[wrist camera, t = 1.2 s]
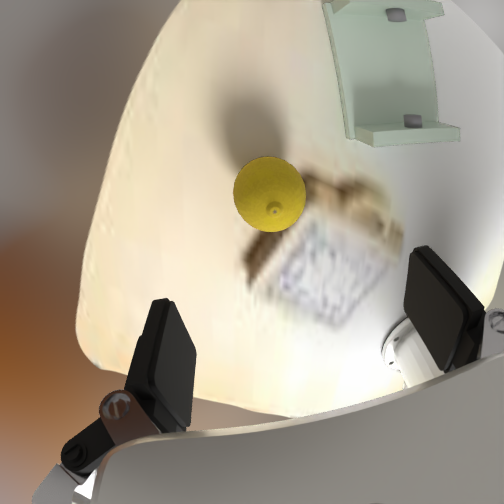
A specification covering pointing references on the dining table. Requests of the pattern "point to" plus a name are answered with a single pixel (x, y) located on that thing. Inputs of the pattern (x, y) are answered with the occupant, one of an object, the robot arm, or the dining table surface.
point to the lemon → (269, 194)
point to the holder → (386, 71)
